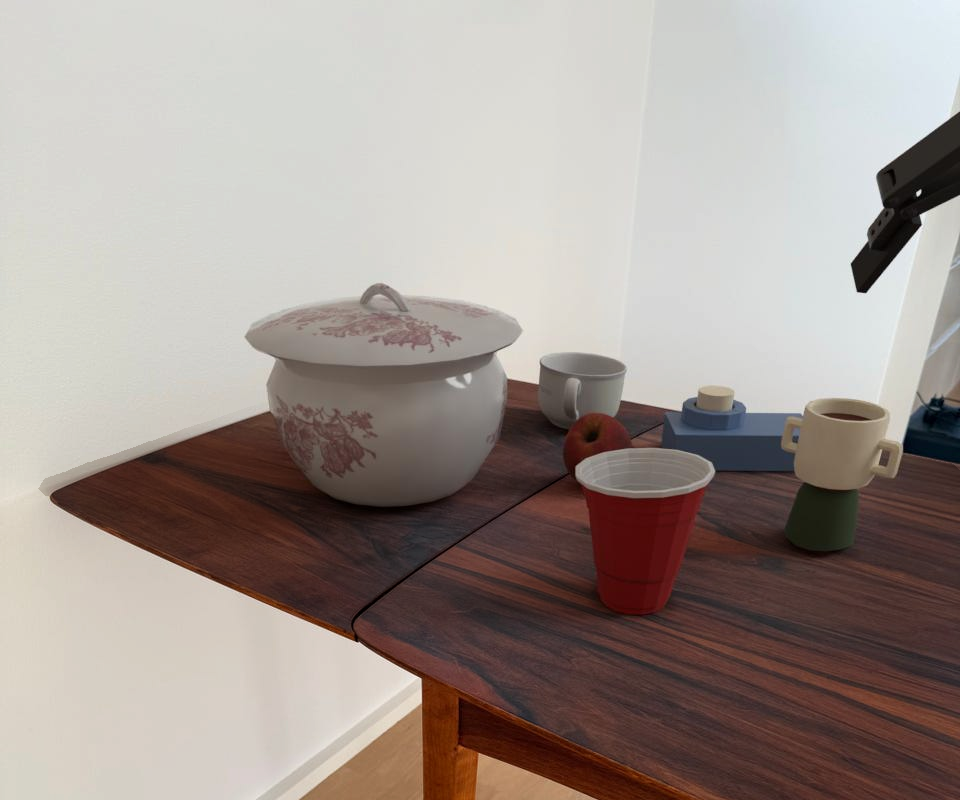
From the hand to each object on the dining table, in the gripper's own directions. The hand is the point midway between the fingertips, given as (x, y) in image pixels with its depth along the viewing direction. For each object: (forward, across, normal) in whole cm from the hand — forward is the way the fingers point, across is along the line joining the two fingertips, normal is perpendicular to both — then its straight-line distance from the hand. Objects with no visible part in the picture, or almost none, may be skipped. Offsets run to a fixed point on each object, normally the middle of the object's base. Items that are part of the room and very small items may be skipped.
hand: (938, 289), depth 67 cm
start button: (+33, -2, +12) cm, 35 cm away
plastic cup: (+20, -19, -18) cm, 33 cm away
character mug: (+22, +1, -10) cm, 25 cm away
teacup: (+46, -14, +17) cm, 51 cm away
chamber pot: (+39, -38, +3) cm, 54 cm away
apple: (+34, -16, +2) cm, 38 cm away
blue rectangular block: (+36, +2, +8) cm, 37 cm away
